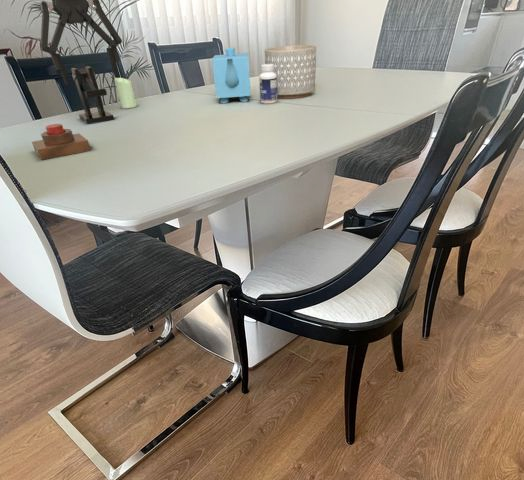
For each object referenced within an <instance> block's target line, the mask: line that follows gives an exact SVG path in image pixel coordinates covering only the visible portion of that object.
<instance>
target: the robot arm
mask: <svg viewBox="0 0 524 480" xmlns="http://www.w3.org/2000/svg"><path fill="white" fill-rule="evenodd" d="M39 6H40V11H41V28H40V29H41V31H40V43H39V45H40V47H39V48H40V51H42V52H44V53H48V54H49V55H50V57H51V60H52V63H53V66H54V68H55V70H57V71H59V72H60V73H61V76H62V77H61V78H62V79H63V82H64V83H63V84H64V85H66V86H69V85H70V84H71V83H70V81H69V77H68V75H67V72H66V68H65V65H64V63H63V59H62V56H61V54H60V53H57V50H58V48H59V44H60V42H61V39H62V35H63V33H64V30H65V27H66V24H68V25H75V24H84V23H86V24H87V25H88V26H89V27H90V28H91V29H92V30H93V31H94V32H95V33H96V34H97V35H98V36H99V37H100V38H101V39H102V40H103V41H104V42H105V43H106V44H107V45H108V46H109V47H107V48H106V50H107V53H108V57H109V60H110V64H111V68H112V72H113V75H114V78H121V75H120V72H119V71H120V70H119V68H118V67H119V66H118V63H120V56H119V53H118V49H117V47H118V46H119V45H120V44H122V43H123V40H122V38H121V36H120V35H119V33H118V32H117V30H116V29H115V26H114V25H113V24H112V23H111V21H110V19H109V18H108V16H107V14H106V13H105V12H104V10H103V8H102V5H101V2H100V0H51V2H48V1H47V2H46V1H45V0H41V1H40V2H39ZM90 8H91V10H92V11H95V13H96V15H97V16H98V18H99V20H100V21H101V22H102V24H103V25H104V27H105V29H106V30H107V32H108V33H107V32H106V31H105V30H104V29H103V28H102V27H101V26H100V25H99V24H98V23H97V22H96V21H95V20H94V19H93V17H92V16H91V15H90V14H89V13H88V12H89V9H90ZM53 10H54V11H55V12H56V14H58V16H59V17H58V19H57V23H56V27H55V29H54V33H53V35H52V39H51V41H50V44H49V30H50V29H49V28H50V15H51V14H52V11H53ZM110 36H111V37H110ZM48 45H49V46H48Z"/></svg>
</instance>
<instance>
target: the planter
mask: <svg viewBox="0 0 524 480" xmlns="http://www.w3.org/2000/svg"><path fill="white" fill-rule="evenodd" d="M264 64H274V73H276V75H277V99H284V100H285V99H287V100H288V99H299V98H304V97H308V96H309V95H311V93H312V92H314V91H315V90H316V71H317V70H316V68H317V46H316V45H313V44H298V45H281V46H273V47H268V48H265V49H264Z"/></svg>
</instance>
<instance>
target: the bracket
mask: <svg viewBox="0 0 524 480" xmlns="http://www.w3.org/2000/svg"><path fill="white" fill-rule="evenodd" d="M84 68H85V69H86V70H87V72H88V74H89V78H90V81H91V82H92V84H93V85H94V87H95V88H96V90H97V89H99V87H98V86H99V85H98V82H97V80H96V79H97V78H96V73H95V71H94V69H93V67H92V66H89V65H88V66H85V67H84ZM78 69H79V68H76V67H71V68H70V70H71V73H72V74H71V75H72V79H73V81H74V83H75V87H76V89H77V92H78V95H79V98H80V102H81V105H82V108H83V111H84V113H81V114H78V117H79V119H80V120H81V121H82V122H84V123H85V124H87V125H90V124H96V123H97V124H98V123H102V122H108V121H114V120H115V117H114V115H113V114H112V113H110V112H108V111H106V110H105V107H104V104H103V101H102V96H97V97H93V98H94V102H95V105H96V108H97V111H91V108H90V104H89V101H88V98H87V97H86V95H85V91H86V90H85V88H84V85H83V84H84V83H82V81H81V78H80V75H79V71H78Z"/></svg>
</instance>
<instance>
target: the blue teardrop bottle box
mask: <svg viewBox="0 0 524 480" xmlns="http://www.w3.org/2000/svg"><path fill="white" fill-rule="evenodd" d="M224 51H225V54H216V55H214V56H213V57H212V58H211V64H212V72H213V80H214V89H215V98H216V99H220V102H219V103H220V104H227V103H229V100H230V98H239V101H240V102H249V97H251V96H252V92H251V77H250V62H249V52H242V53H240V52H239V53H235V52H236V48H235V47H226V48H225V49H224Z"/></svg>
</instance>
